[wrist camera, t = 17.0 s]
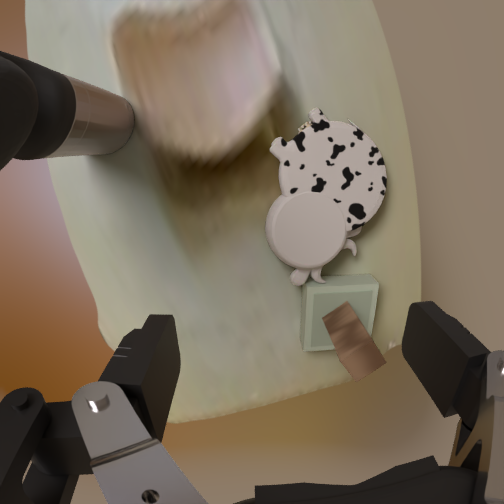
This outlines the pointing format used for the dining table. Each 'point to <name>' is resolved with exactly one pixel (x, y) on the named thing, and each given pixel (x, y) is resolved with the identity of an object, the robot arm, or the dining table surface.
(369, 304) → the stand
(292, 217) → the toy
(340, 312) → the block
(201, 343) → the dining table surface
